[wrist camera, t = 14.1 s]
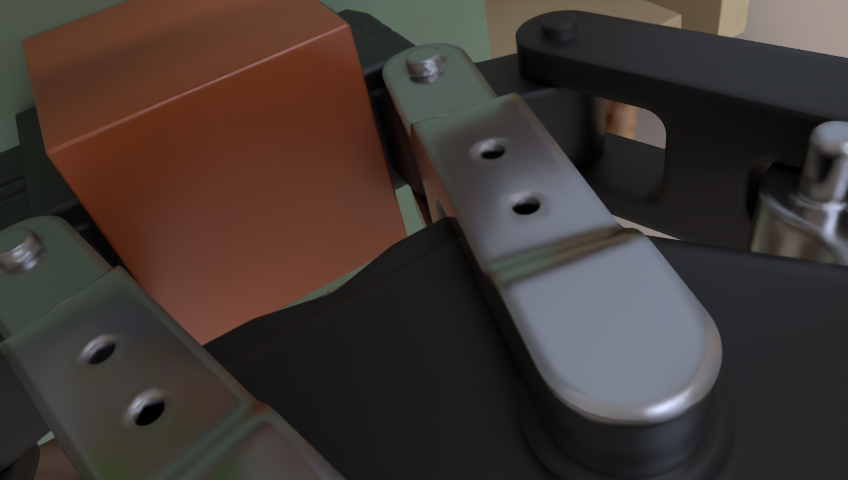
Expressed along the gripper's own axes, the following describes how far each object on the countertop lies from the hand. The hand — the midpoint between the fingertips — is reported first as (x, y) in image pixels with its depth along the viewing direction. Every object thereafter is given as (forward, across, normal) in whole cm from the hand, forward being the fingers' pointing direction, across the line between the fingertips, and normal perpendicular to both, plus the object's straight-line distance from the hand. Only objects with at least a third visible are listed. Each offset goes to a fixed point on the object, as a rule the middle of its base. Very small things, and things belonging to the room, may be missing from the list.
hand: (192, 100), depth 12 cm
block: (0, 0, 0) cm, 0 cm away
